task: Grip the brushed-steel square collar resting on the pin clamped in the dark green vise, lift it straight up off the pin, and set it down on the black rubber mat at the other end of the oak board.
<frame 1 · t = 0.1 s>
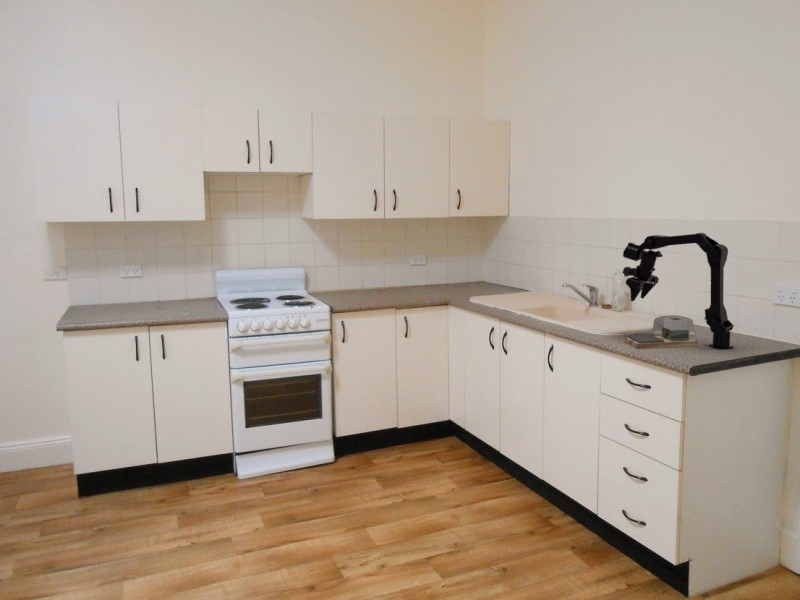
hand: (637, 299, 271), 15 cm above the worktop, tool pointing down, fingers open, 9 cm apart
hinge: (673, 336, 270), on the worktop
vise: (660, 344, 256), on the worktop
collar: (675, 328, 256), point 6 cm above the worktop, touching vise
mat: (645, 339, 256), resting on vise
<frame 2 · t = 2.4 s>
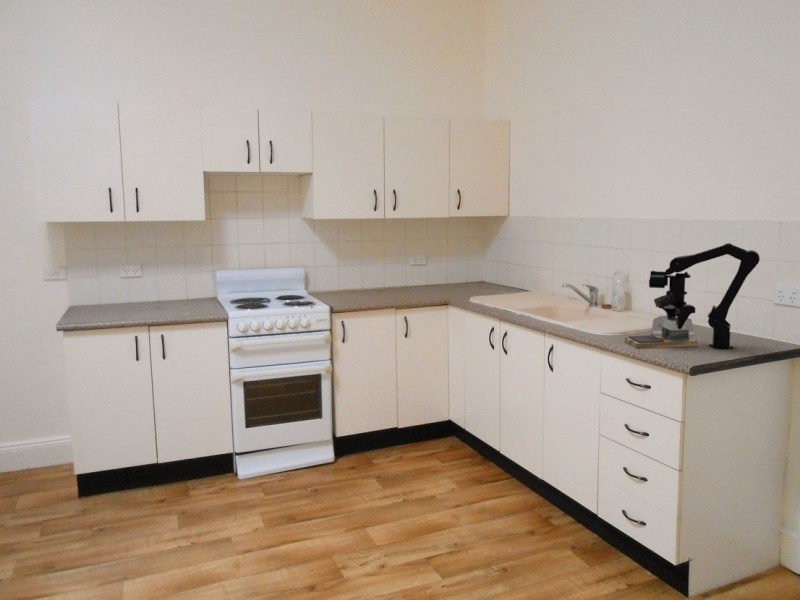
hand: (675, 327, 256), 7 cm above the worktop, tool pointing down, fingers closed on collar, 6 cm apart
collar: (675, 328, 256), point 6 cm above the worktop, touching gripper, vise
everything else where it was.
when the fingers open (5 cm above the worktop, at t = 7.1 s): collar drops 1 cm, resting on mat.
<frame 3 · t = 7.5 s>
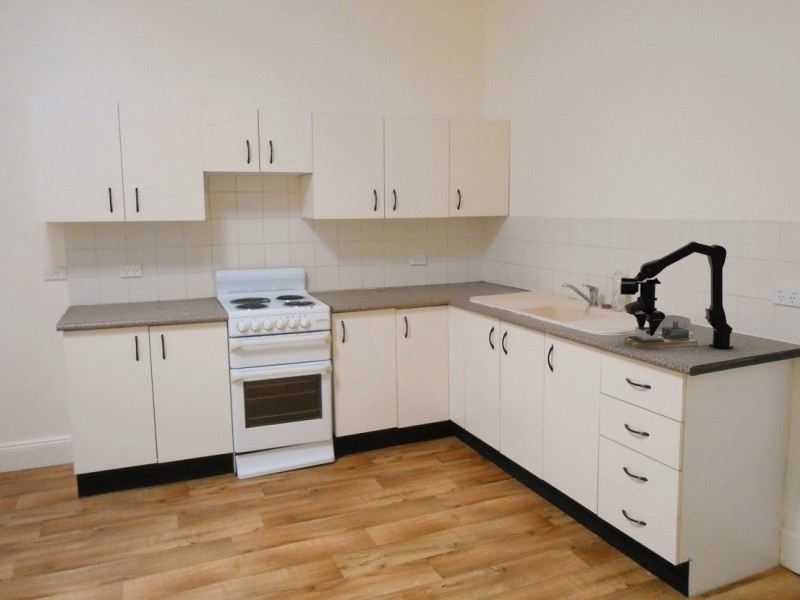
hand: (646, 333, 255), 5 cm above the worktop, tool pointing down, fingers open, 9 cm apart
collar: (646, 338, 255), point 3 cm above the worktop, touching mat
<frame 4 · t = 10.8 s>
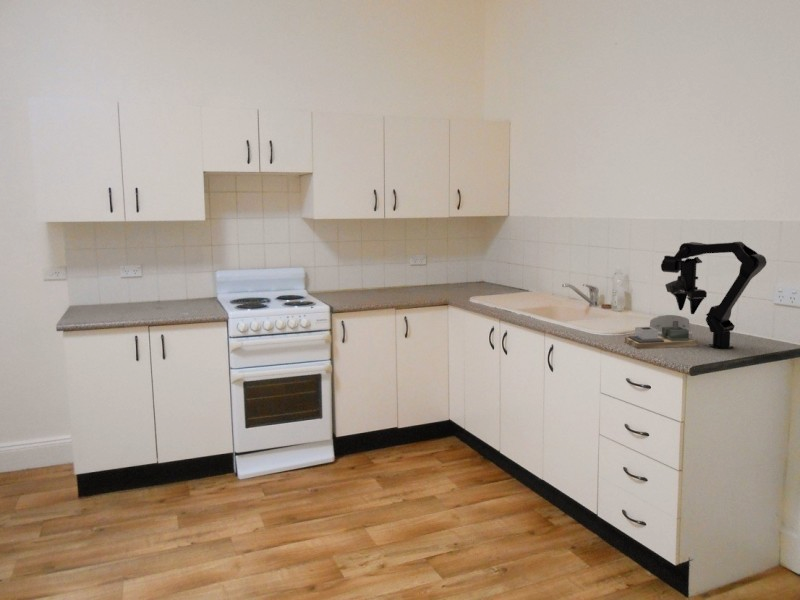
hand: (686, 312, 258), 12 cm above the worktop, tool pointing down, fingers open, 9 cm apart
at the end: collar 0.0 cm off-centre on the mat, point 0.6 cm above the mat's base; collar tilted 0°; the gripper is holding nothing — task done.
